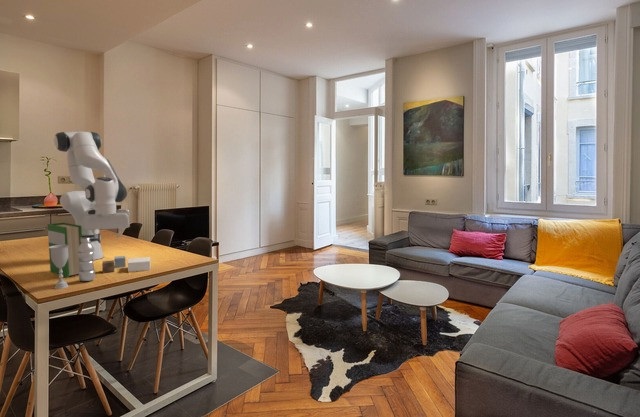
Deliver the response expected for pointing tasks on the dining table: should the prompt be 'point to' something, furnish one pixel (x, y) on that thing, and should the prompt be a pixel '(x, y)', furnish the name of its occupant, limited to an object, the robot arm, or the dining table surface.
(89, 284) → the dining table surface
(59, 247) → the chalice
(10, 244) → the dining table surface
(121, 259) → the blue-grey cube
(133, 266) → the base block
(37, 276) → the dining table surface
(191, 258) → the dining table surface
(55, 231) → the hardback book
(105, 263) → the walnut cube
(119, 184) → the robot arm
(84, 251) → the plastic bottle
